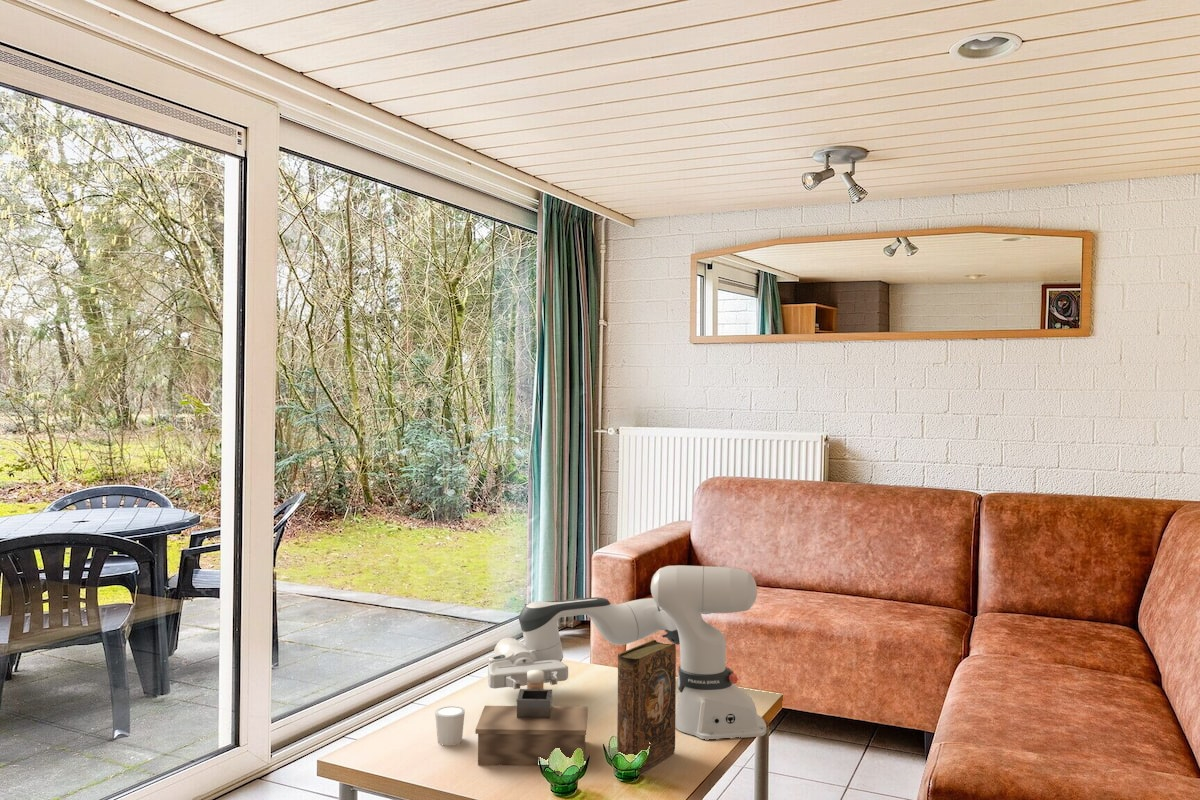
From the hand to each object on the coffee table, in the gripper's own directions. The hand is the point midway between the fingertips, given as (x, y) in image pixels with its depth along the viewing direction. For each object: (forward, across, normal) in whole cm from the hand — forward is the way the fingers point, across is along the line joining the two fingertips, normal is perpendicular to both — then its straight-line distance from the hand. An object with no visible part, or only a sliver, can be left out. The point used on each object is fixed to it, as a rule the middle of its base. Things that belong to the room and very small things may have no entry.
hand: (536, 683), depth 211 cm
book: (+28, -17, -11) cm, 34 cm away
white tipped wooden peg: (-1, 0, -10) cm, 11 cm away
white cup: (+2, +21, -11) cm, 24 cm away
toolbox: (+15, +5, -10) cm, 19 cm away
